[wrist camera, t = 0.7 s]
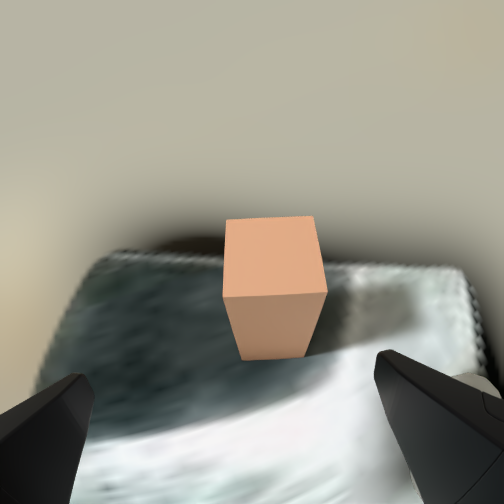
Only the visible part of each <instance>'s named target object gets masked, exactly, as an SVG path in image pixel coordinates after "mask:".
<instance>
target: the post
mask: <svg viewBox="0 0 504 504" xmlns="http://www.w3.org/2000/svg"><path fill="white" fill-rule="evenodd" d="M327 292H328V291H327V286H326V280H325V274H324V269H323V263H322V258H321V253H320V248H319V243H318V238H317V233H316V228H315V224H314V219H313V216H300V217H299V216H298V217H274V218H253V219H252V218H251V219H234V220H226V236H225V256H224V278H223V300H224V303H225V306H226V310H227V313H228V316H229V320H230V323H231V326H232V330H233V333H234V336H235V339H236V342H237V346H238V349H239V352H240V355H241V358H242V360H267V359H286V358H300V357H304V355H305V353H306V350H307V348H308V345H309V342H310V340H311V337H312V334H313V332H314V329H315V326H316V324H317V321H318V318H319V315H320V312H321V310H322V307H323V304H324V301H325V298H326V295H327Z"/></svg>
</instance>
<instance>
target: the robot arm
mask: <svg viewBox="0 0 504 504" xmlns="http://www.w3.org/2000/svg"><path fill="white" fill-rule="evenodd" d="M374 380H375V383H376V386H377V389H378V392H379V395H380V398H381V401H382V404H383V407H384V410H385V413H386V416H387V419H388V421H389V424H390V426H391V428H392V430H393V433H394V435H395V437H396V439H397V441H398V444H399V446H400V448H401V450H402V452H403V455H404V457H405V459H406V462H407V464H408V466H409V469H410V471H411V473H412V476H413V478H414V480H415V483H416V485H417V487H418V490H419V492H420V495H421V497H422V500H423V502H424V504H504V400H503V399H501V398H498V397H496V396H493V395H491V394H488V393H486V392H484V391H482V392H481V390H479V389H477V388H475V387H472V386H470V385H468V384H465V383H463V382H461V381H459V380H457V379H454V378H452V377H450V376H448V375H445V374H443V373H441V372H439V371H437V370H434V369H432V368H430V367H428V366H426V365H424V364H421V363H419V362H417V361H415V360H413V359H411V358H409V357H406V356H404V355H402V354H400V353H398V352H396V351H394V350H391V349H389V350H385V351H380V352H379V353H378V354H377V357H376V363H375V369H374ZM93 403H94V392H93V390H92V388H91V386H90V384H89V382H88V380H87V378H86V376H85V375H84V374H82V373H71V374H70V375H68V376H66V377H64V378H63V379H61V380H59V381H58V382H56V383H54V384H53V385H51V386H49V387H47V388H46V389H44V390H42V391H41V392H39V393H37V394H35V395H34V396H32V397H30V398H29V399H27V400H25V401H23V402H22V403H20V404H18V405H16V406H15V407H13V408H11V409H10V410H8V411H6V412H4V413H3V414H1V415H0V504H69V502H70V498H71V493H72V489H73V485H74V481H75V477H76V473H77V469H78V465H79V462H80V458H81V454H82V451H83V447H84V444H85V441H86V437H87V432H88V428H89V422H90V417H91V413H92V408H93Z"/></svg>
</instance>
